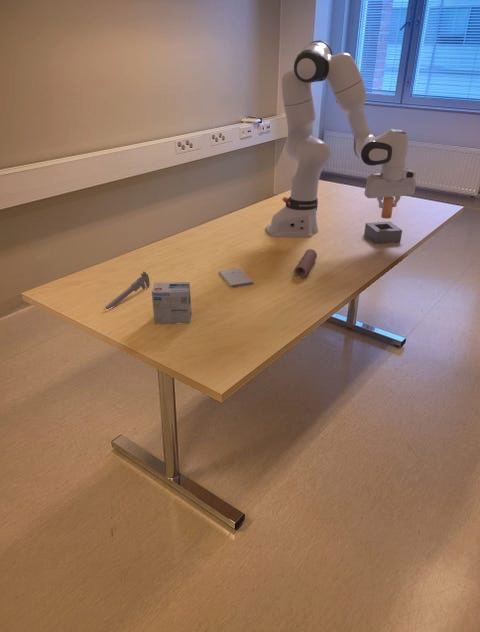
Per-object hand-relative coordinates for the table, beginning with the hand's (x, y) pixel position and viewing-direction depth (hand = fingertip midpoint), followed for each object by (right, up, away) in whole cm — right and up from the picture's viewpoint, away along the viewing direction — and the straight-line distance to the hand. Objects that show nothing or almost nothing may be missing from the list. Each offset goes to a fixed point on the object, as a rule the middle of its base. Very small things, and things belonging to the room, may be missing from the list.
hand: (387, 207), depth 204 cm
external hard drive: (-61, -32, -29) cm, 75 cm away
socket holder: (0, -11, +7) cm, 13 cm away
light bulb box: (-80, -45, -54) cm, 106 cm away
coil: (-36, -27, -21) cm, 50 cm away
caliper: (-96, -39, -43) cm, 112 cm away
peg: (0, -4, +2) cm, 4 cm away
